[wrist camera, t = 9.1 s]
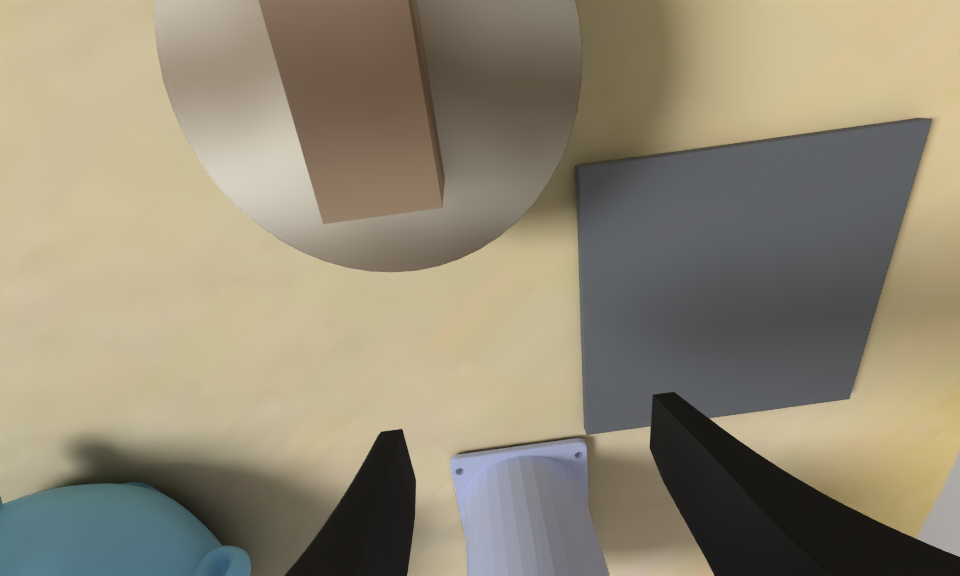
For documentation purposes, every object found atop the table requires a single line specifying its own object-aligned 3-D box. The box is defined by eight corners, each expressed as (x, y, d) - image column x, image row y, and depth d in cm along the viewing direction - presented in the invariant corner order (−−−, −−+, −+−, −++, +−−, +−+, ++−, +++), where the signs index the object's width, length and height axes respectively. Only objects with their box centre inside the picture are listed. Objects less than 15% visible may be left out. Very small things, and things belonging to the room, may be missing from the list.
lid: (580, 239, 16) (620, 290, 12) (255, 284, 16) (193, 349, 12) (567, -216, 11) (629, -374, 7) (89, -148, 11) (-105, -268, 7)
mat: (841, 392, 26) (849, 399, 25) (584, 427, 26) (586, 434, 25) (918, 117, 19) (932, 119, 19) (575, 165, 19) (579, 168, 19)
